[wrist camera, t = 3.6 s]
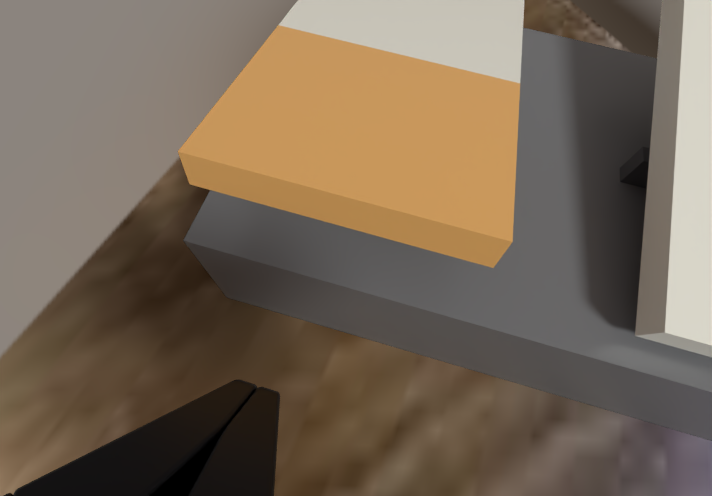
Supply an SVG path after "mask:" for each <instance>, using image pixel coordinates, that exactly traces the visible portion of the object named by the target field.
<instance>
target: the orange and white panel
mask: <svg viewBox="0 0 712 496" xmlns="http://www.w3.org/2000/svg"><path fill="white" fill-rule="evenodd" d="M523 16H524V0H298V1H297V2H296V4H295V5H294V6H293V7H292V9H291V10H290V11H289V12H288V14H287V15H286V16H285V17H284V19H283V20H282V21H281V22H280V24H279V25H278V26H277V27H276V29H275V30H274V31H273V32H272V34H271V35H270V36H269V38H268V39H267V40H266V41H265V43H264V44H263V45H262V46H261V48H260V49H259V50H258V51H257V53H256V54H255V55H254V56H253V58H252V59H251V60H250V61H249V63H248V64H247V65H246V66H245V68H244V69H243V70H242V72H241V73H240V74H239V75H238V76H237V78H236V79H235V81H233V83H232V84H231V85H230V86H229V88H228V89H227V90H226V92H225V93H224V94H223V95H222V97H221V98H220V99H219V100H218V102H217V103H216V104H215V105H214V107H213V108H212V109H211V110H210V112H209V113H208V114H207V115H206V117H205V118H204V119H203V121H202V122H201V123H200V124H199V125H198V127H197V128H196V129H195V130H194V132H193V133H192V134H191V136H190V137H189V138H188V139H187V141H186V142H185V143H184V144H183V146H182V147H181V148H180V149H179V151H178V154H179V156H180V159H181V162H182V165H183V167H184V170H185V173H186V176H187V178H188V181H189V184H190V185H194V186H198V187H201V188H205V189H208V190H212V191H216V192H219V193H223V194H227V195H230V196H234V197H237V198H241V199H245V200H248V201H252V202H256V203H259V204H263V205H266V206H270V207H274V208H277V209H281V210H285V211H288V212H292V213H295V214H299V215H303V216H306V217H310V218H314V219H317V220H321V221H324V222H328V223H332V224H335V225H339V226H343V227H346V228H350V229H353V230H357V231H361V232H364V233H368V234H372V235H375V236H379V237H382V238H386V239H390V240H393V241H397V242H401V243H404V244H408V245H411V246H415V247H419V248H422V249H426V250H430V251H433V252H437V253H440V254H444V255H448V256H451V257H455V258H459V259H462V260H466V261H469V262H473V263H477V264H480V265H484V266H488V267H491V268H494V266H495V265H496V264H497V262H498V261H499V260H500V258H501V257H502V256H503V254H504V253H505V252H506V250H507V249H508V247H509V246H510V245H511V243H512V242H513V223H514V202H515V181H516V161H517V140H518V119H519V99H520V78H521V57H522V37H523Z"/></svg>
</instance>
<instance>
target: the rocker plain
mask: <svg viewBox="0 0 712 496" xmlns="http://www.w3.org/2000/svg"><path fill="white" fill-rule="evenodd" d="M635 336H637V337H641V338H644V339H648V340H652V341H655V342H659V343H662V344H666V345H669V346H673V347H676V348H680V349H684V350H687V351H691V352H694V353H698V354H701V355H705V356H709V357H712V0H662V6H661V19H660V31H659V44H658V56H657V68H656V80H655V93H654V105H653V117H652V130H651V142H650V155H649V167H648V179H647V192H646V204H645V217H644V229H643V242H642V254H641V266H640V279H639V291H638V304H637V316H636V329H635Z"/></svg>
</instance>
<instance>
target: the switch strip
mask: <svg viewBox="0 0 712 496" xmlns="http://www.w3.org/2000/svg"><path fill="white" fill-rule="evenodd" d="M656 68H657V59H656V58H652V57H648V56H643V55H639V54H635V53H631V52H626V51H622V50H618V49H613V48H609V47H605V46H600V45H596V44H592V43H587V42H583V41H579V40H574V39H570V38H566V37H561V36H557V35H553V34H548V33H544V32H540V31H535V30H531V29H527V28H523V37H522V57H521V78H520V99H519V119H518V140H517V161H516V181H515V202H514V223H513V242H512V243H511V245H510V246H509V247H508V249H507V250H506V252H505V253H504V254H503V256H502V257H501V258H500V260H499V261H498V262H497V264H496V265H495V266H494V268H491V267H488V266H484V265H480V264H477V263H473V262H469V261H466V260H462V259H459V258H455V257H451V256H448V255H444V254H440V253H437V252H433V251H430V250H426V249H422V248H419V247H415V246H411V245H408V244H404V243H401V242H397V241H393V240H390V239H386V238H382V237H379V236H375V235H372V234H368V233H364V232H361V231H357V230H353V229H350V228H346V227H343V226H339V225H335V224H332V223H328V222H324V221H321V220H317V219H314V218H310V217H306V216H303V215H299V214H295V213H292V212H288V211H285V210H281V209H277V208H274V207H270V206H266V205H263V204H259V203H256V202H252V201H248V200H245V199H241V198H237V197H234V196H230V195H227V194H223V193H219V192H216V191H212V190H210V192H209V193H208V195H207V197H206V199H205V201H204V203H203V205H202V206H201V208H200V210H199V212H198V214H197V216H196V218H195V219H194V221H193V223H192V225H191V227H190V229H189V231H188V232H187V234H186V236H185V238H184V240H183V241H184V242H185V244H186V245H187V246H188V247H189V249H190V250H191V251H192V253H193V254H194V255H195V257H196V258H197V259H198V261H199V262H200V263H201V264H202V266H203V267H204V268H205V270H206V271H207V272H208V274H209V275H210V276H211V278H212V279H213V280H214V281H215V283H216V284H217V285H218V287H219V288H220V289H221V291H222V292H223V293H224V295H225V296H226V297H227V298H230V299H234V300H237V301H241V302H244V303H247V304H251V305H254V306H257V307H261V308H264V309H268V310H271V311H274V312H278V313H281V314H285V315H288V316H291V317H295V318H298V319H301V320H305V321H308V322H312V323H315V324H318V325H322V326H325V327H329V328H332V329H335V330H339V331H342V332H345V333H349V334H352V335H356V336H359V337H362V338H366V339H369V340H372V341H376V342H379V343H383V344H386V345H389V346H393V347H396V348H400V349H403V350H406V351H410V352H413V353H416V354H420V355H423V356H427V357H430V358H433V359H437V360H440V361H444V362H447V363H450V364H454V365H457V366H460V367H464V368H467V369H471V370H474V371H477V372H481V373H484V374H487V375H491V376H494V377H498V378H501V379H504V380H508V381H511V382H515V383H518V384H521V385H525V386H528V387H531V388H535V389H538V390H542V391H545V392H548V393H552V394H555V395H559V396H562V397H565V398H569V399H572V400H575V401H579V402H582V403H586V404H589V405H592V406H596V407H599V408H602V409H606V410H609V411H613V412H616V413H619V414H623V415H626V416H630V417H633V418H636V419H640V420H643V421H646V422H650V423H653V424H657V425H660V426H663V427H667V428H670V429H674V430H677V431H680V432H684V433H687V434H690V435H694V436H697V437H701V438H704V439H707V440H711V441H712V357H709V356H705V355H701V354H698V353H694V352H691V351H687V350H684V349H680V348H676V347H673V346H669V345H666V344H662V343H659V342H655V341H652V340H648V339H644V338H641V337H637V336H635V329H636V316H637V304H638V291H639V279H640V266H641V254H642V242H643V229H644V217H645V204H646V192H647V179H648V167H649V155H650V142H651V130H652V117H653V105H654V93H655V80H656Z"/></svg>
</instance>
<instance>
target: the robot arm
mask: <svg viewBox="0 0 712 496" xmlns="http://www.w3.org/2000/svg"><path fill="white" fill-rule="evenodd" d="M279 404H280V394H279V392H277V391H274V390H271V389H267V388H264V387H259V388H257V386H256V385H255V384H252V383H248V382H245V381H242V380H234V381H232V382H230V383H228V384H226V385H224V386H222V387H220V388H218V389H216V390H214V391H212V392H210V393H208V394H206V395H204V396H202V397H200V398H198V399H196V400H194V401H192V402H190V403H188V404H186V405H184V406H182V407H180V408H178V409H176V410H174V411H172V412H170V413H168V414H166V415H164V416H162V417H160V418H158V419H156V420H154V421H152V422H150V423H148V424H146V425H144V426H142V427H140V428H138V429H136V430H134V431H132V432H130V433H128V434H126V435H124V436H122V437H120V438H118V439H116V440H114V441H112V442H110V443H108V444H106V445H104V446H102V447H100V448H98V449H96V450H94V451H92V452H90V453H88V454H86V455H84V456H82V457H80V458H78V459H76V460H74V461H72V462H70V463H68V464H66V465H64V466H62V467H60V468H58V469H56V470H54V471H52V472H50V473H48V474H46V475H44V476H42V477H40V478H38V479H36V480H34V481H32V482H30V483H28V484H26V485H24V486H22V487H20V488H18V489H17V490H16V491H15V492H14V495H13V494H11V493H8V494H6V495H4V496H274V484H275V468H276V452H277V436H278V420H279Z"/></svg>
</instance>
